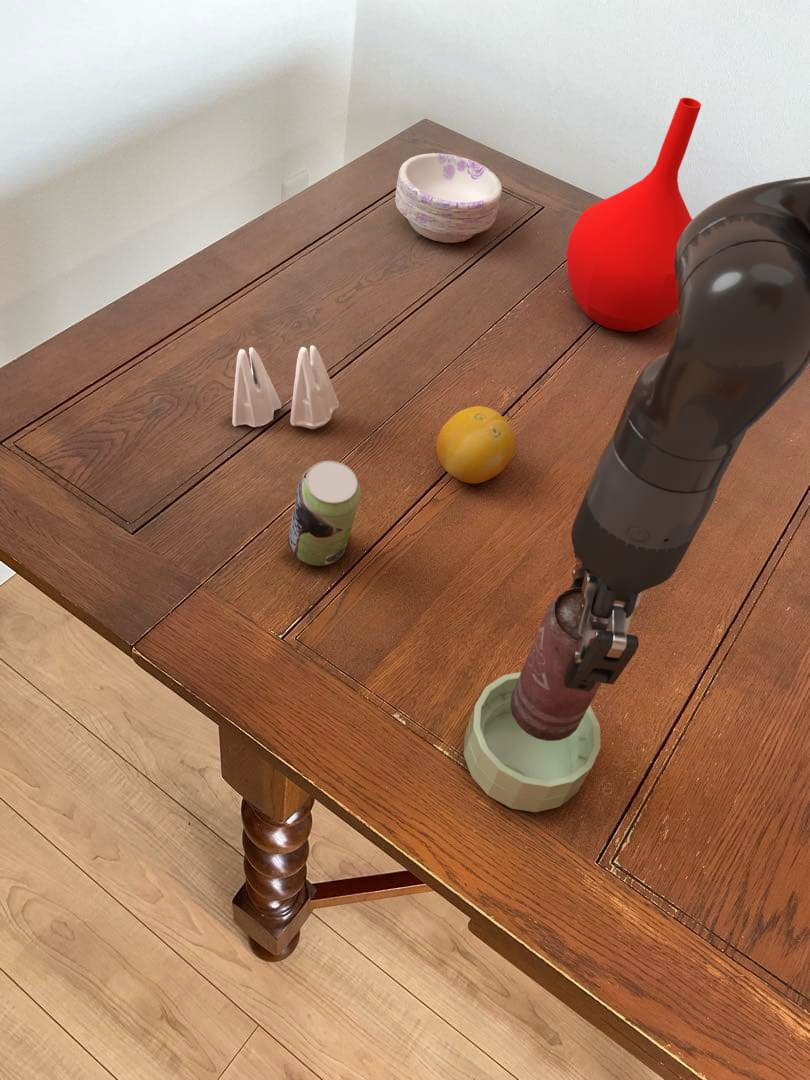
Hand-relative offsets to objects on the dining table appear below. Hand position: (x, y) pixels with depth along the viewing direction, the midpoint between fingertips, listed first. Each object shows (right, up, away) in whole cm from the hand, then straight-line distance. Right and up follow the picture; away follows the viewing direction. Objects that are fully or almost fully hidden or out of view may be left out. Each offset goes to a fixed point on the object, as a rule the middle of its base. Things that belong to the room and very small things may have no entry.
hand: (576, 648), depth 75 cm
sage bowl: (-2, -11, +13) cm, 18 cm away
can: (-1, -6, +7) cm, 10 cm away
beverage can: (-22, +7, +26) cm, 35 cm away
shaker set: (-27, +22, +38) cm, 52 cm away
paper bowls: (-8, +55, +70) cm, 90 cm away
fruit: (-6, +16, +37) cm, 41 cm away
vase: (+17, +41, +62) cm, 76 cm away
